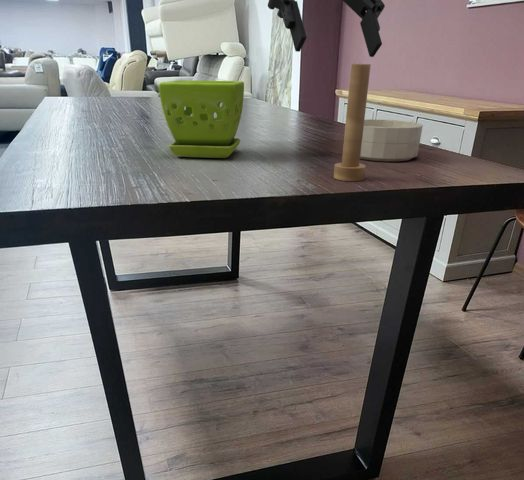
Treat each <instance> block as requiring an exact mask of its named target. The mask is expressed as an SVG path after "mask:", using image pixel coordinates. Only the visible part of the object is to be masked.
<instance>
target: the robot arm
mask: <svg viewBox="0 0 524 480" xmlns="http://www.w3.org/2000/svg"><path fill="white" fill-rule="evenodd" d="M342 2H344V3H345V4H346V5H347V7H348V8H350V9H351V10H352V11H353V12H354V13H355V14H356V15H357V17H359V18H360V19H361V20H360V21H359V25H360V28H361V31H362V35H363V39H364V42H365V45H366V49H367V53H368V56H369V57H370V58H374V57H375V56H376V54H377V53H378V51H379V49H380V48H381V47H382V45H383V42H382V38H381V34H380V30H381V26H380V23H379V17H380V15H381V14H382V12H383V11H384V9H385V3H384V2H383V0H342ZM267 7H268V9H269V10H275V9H276V10H278V11H277V13H276V14H277V17H278V18H280V19H282V21H283V25H284V27H285V28H286V29H287V30H289V31H290V36H291V39H292V43H293V48H294V50H295V52H296V53H297V52H299V53H300V52H301V51H302V48H303V46H304V44H305V42H306V40H307V35H306V29H305V26H304V22H303V18H302V15H301V11H300V7H299V4H298V0H268V3H267Z"/></svg>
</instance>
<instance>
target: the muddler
mask: <svg viewBox="0 0 524 480" xmlns="http://www.w3.org/2000/svg"><path fill="white" fill-rule="evenodd" d="M371 66H372V65H371V63H351V64H350V73H349V74H350V75H349V85H348V94H347V105H346V116H345V125H344V136H343V137H344V138H343V146H342V155H341V162H337V163H335V164H334V165H333V166H334V168H333V178H334V179H335V180H337V181H344V182H361V181H364V180H365V179H366V170H367V165H366V164H364V163H361V162H360V161H361V159H360V154H361V145H362V136H363V128H364V119H365V118H366V110H367V109H366V108H367V102H368V92H369V83H370V74H371Z"/></svg>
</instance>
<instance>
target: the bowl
mask: <svg viewBox="0 0 524 480" xmlns="http://www.w3.org/2000/svg"><path fill="white" fill-rule="evenodd" d="M423 128H424V125H423V124H422V123H419V122H415V121H409V120H397V119H377V118H376V119H375V118H374V119H373V118H371V119H369V118H367V119H364V128H363V136H362V145H361V154H360V160H364V161H374V162H406V161H410V160H412V159H414V158H417V157H418V155H419V151H420V145H421V139H422V134H423Z"/></svg>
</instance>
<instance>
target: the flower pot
mask: <svg viewBox="0 0 524 480" xmlns="http://www.w3.org/2000/svg"><path fill="white" fill-rule="evenodd" d="M158 93H159V99H160V104H161V108H162V112H163V116H164V119H165V121H166V125H167V127H168V129H169V131H170V134H171V135H172V137H173V140H174V141H173V142H172V143H169V144H168V147H169V150H170V151H171V152H172V154H173V155H175V156H176V158H201V159H202V158H204V159H205V158H207V159H227V158H228V157H230V155H232V153H233V152H235V150H236V149H237V148H238V146H239V145H240V143H241V138H238V137H236V135H237V132H238V129H239V125H240V123H241V122H240V121H241V117H242V112H243V107H244V98H245V95H244V94H245V82H244V81H243V80H168V81H167V80H166V81H161V82H159V83H158ZM215 114H216V117H215Z"/></svg>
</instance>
